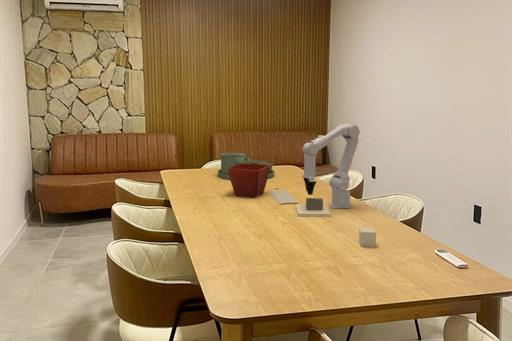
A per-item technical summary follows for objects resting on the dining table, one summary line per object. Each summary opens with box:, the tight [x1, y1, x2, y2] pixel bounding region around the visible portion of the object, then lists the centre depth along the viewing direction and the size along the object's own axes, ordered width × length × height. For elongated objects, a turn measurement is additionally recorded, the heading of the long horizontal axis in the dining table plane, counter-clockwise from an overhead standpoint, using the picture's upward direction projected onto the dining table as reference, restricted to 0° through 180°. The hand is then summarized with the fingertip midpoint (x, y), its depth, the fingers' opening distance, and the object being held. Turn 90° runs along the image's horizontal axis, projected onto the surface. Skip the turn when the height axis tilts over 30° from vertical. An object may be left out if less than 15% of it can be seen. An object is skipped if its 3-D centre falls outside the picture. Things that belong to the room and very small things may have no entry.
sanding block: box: [305, 197, 324, 210], centre depth 248 cm, size 8×5×5 cm, turn 90°
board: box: [294, 204, 332, 218], centre depth 249 cm, size 16×18×2 cm
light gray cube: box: [358, 227, 377, 248], centre depth 199 cm, size 6×6×6 cm
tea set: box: [217, 151, 275, 181], centre depth 344 cm, size 40×40×16 cm
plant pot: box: [228, 163, 270, 198], centre depth 285 cm, size 19×19×17 cm
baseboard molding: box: [268, 187, 299, 206], centre depth 279 cm, size 31×3×12 cm
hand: (309, 192), depth 250 cm, fingers open, 7 cm apart
